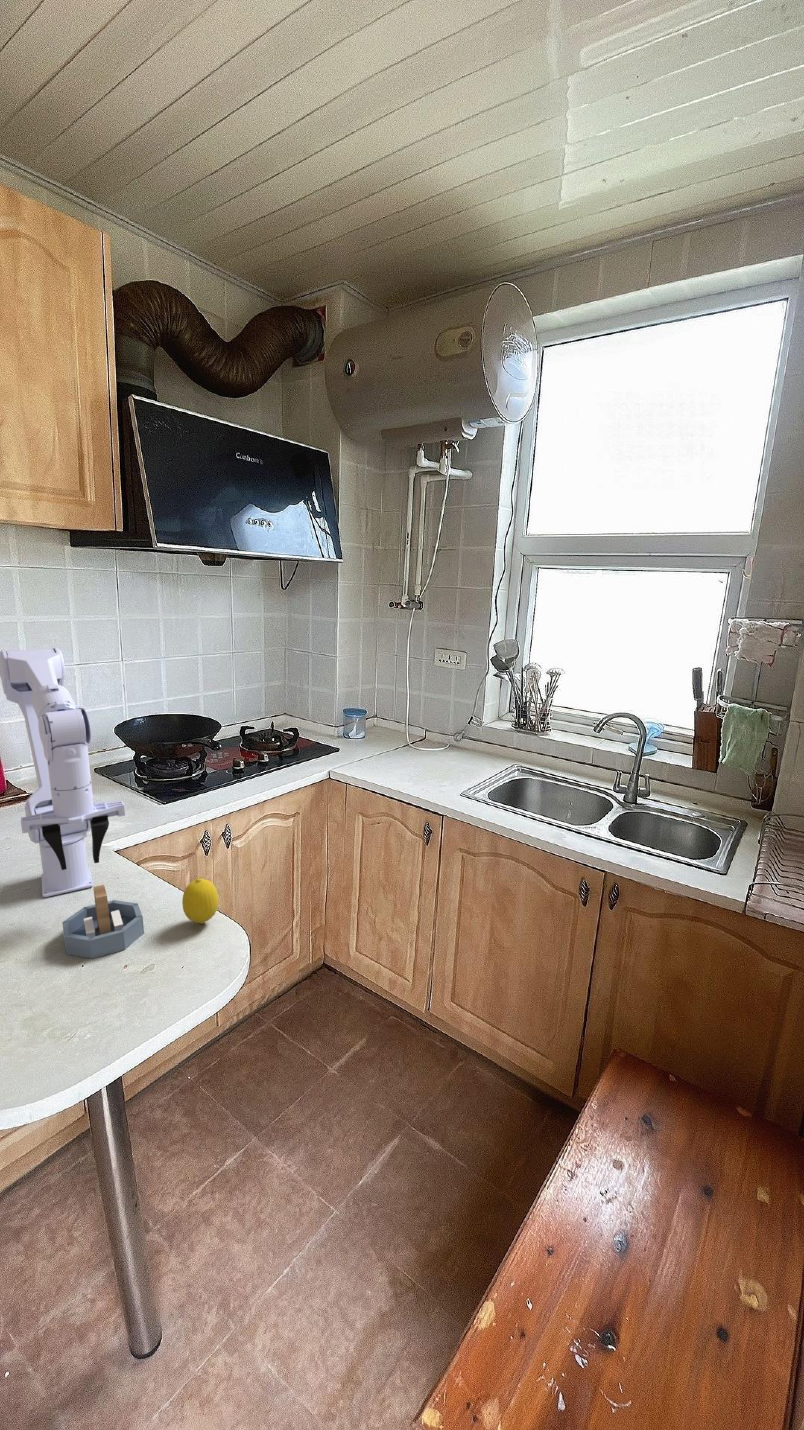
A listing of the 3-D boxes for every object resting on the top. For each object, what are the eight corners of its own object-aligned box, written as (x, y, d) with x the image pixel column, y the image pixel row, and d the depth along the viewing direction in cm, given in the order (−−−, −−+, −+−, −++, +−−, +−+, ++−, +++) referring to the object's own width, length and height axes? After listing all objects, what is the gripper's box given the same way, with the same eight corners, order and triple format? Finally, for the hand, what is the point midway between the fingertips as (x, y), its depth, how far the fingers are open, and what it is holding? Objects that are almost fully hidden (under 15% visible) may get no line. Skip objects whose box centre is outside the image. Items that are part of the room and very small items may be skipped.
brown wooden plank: (97, 927, 96) (93, 886, 94) (108, 924, 96) (103, 884, 95) (100, 939, 92) (96, 898, 91) (111, 936, 93) (107, 895, 92)
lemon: (223, 914, 101) (220, 870, 100) (214, 932, 96) (211, 886, 94) (190, 914, 101) (186, 870, 99) (179, 933, 96) (175, 887, 94)
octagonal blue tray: (63, 929, 96) (61, 912, 96) (136, 910, 102) (135, 894, 101) (67, 965, 87) (65, 947, 87) (147, 943, 93) (146, 925, 92)
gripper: (16, 800, 88) (28, 885, 91) (124, 784, 96) (131, 863, 99) (17, 786, 94) (28, 866, 97) (118, 772, 102) (125, 847, 105)
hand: (80, 863), depth 98 cm, fingers open, 4 cm apart
